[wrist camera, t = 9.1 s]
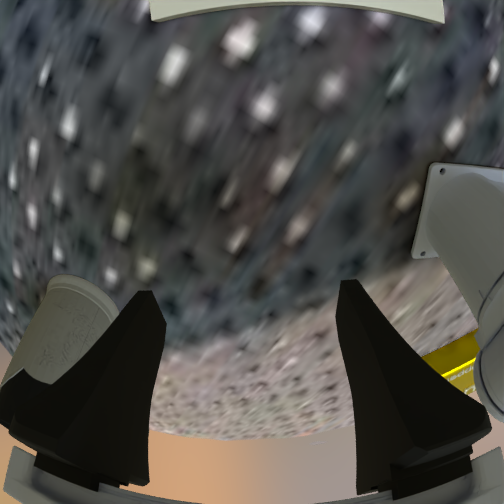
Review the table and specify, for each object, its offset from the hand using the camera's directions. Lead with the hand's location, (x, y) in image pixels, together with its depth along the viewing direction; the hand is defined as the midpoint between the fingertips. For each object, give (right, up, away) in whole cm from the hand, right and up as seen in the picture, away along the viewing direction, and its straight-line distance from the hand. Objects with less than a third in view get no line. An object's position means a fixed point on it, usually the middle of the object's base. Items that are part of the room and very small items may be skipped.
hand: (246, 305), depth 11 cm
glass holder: (-15, -5, +16) cm, 22 cm away
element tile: (+30, -14, +23) cm, 40 cm away
